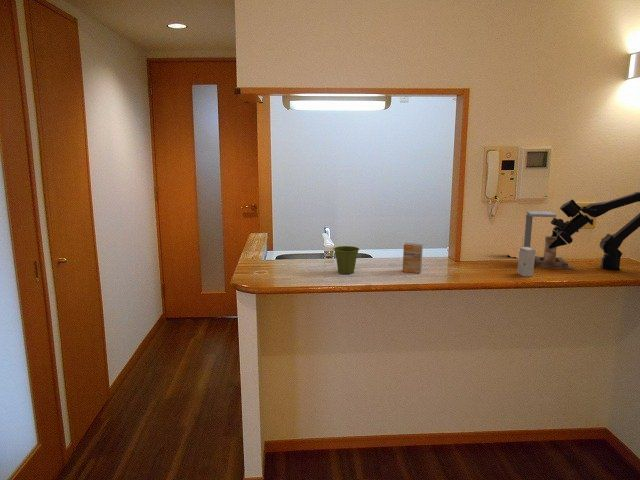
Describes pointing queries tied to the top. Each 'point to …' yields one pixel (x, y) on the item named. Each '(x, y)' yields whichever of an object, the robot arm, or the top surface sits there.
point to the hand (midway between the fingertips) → (547, 246)
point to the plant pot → (346, 258)
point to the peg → (549, 253)
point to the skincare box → (526, 261)
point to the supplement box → (412, 258)
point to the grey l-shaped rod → (529, 223)
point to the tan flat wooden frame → (551, 263)
